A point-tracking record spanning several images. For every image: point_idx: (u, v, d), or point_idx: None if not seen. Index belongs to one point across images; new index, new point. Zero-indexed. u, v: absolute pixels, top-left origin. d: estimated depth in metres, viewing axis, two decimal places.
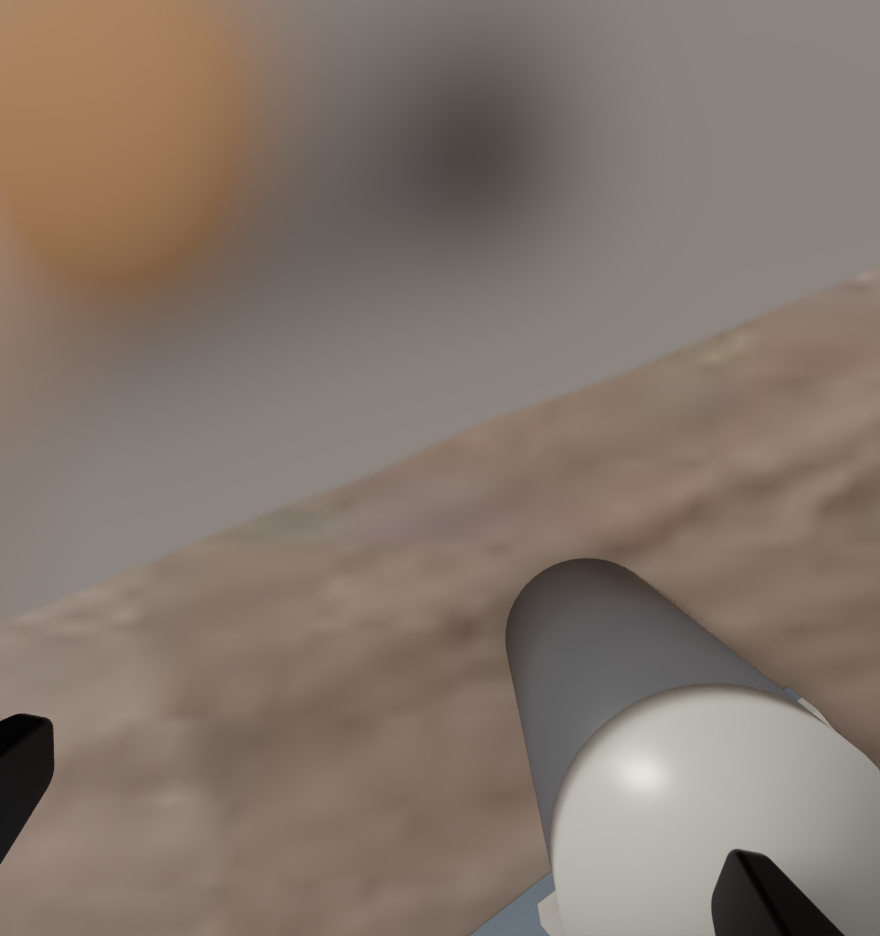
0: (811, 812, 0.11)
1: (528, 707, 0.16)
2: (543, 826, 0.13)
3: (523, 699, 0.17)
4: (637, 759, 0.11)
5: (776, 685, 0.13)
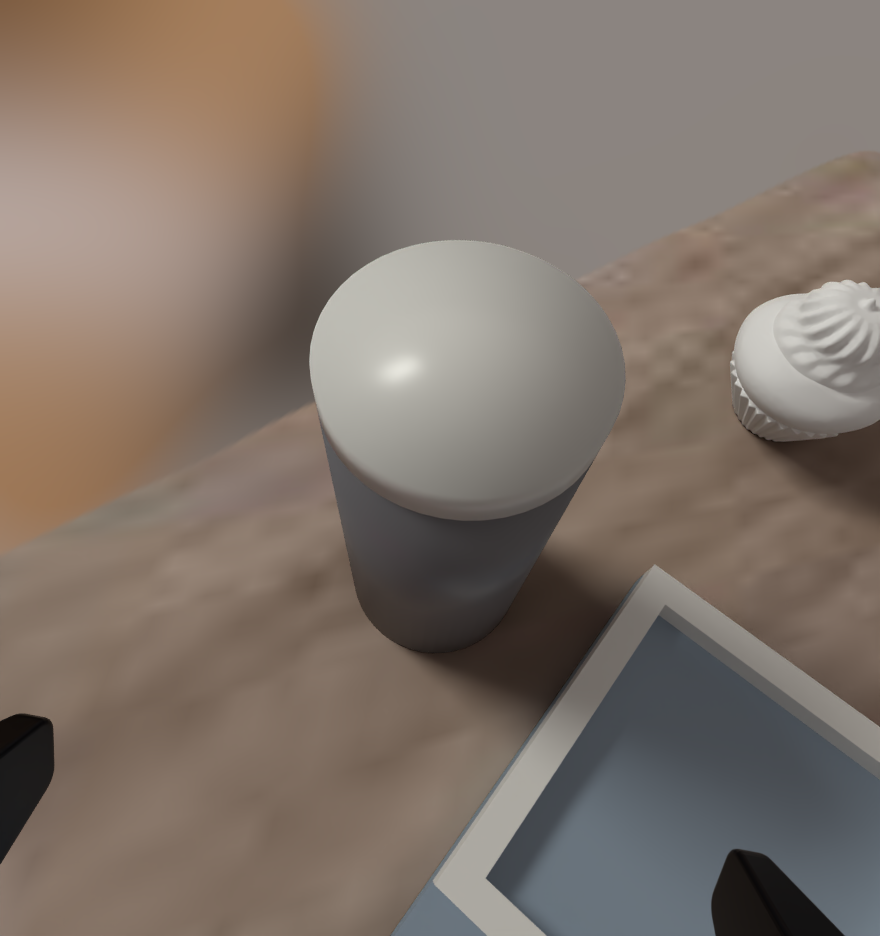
0: (513, 298, 0.13)
1: None
2: (323, 436, 0.13)
3: None
4: (366, 282, 0.13)
5: None
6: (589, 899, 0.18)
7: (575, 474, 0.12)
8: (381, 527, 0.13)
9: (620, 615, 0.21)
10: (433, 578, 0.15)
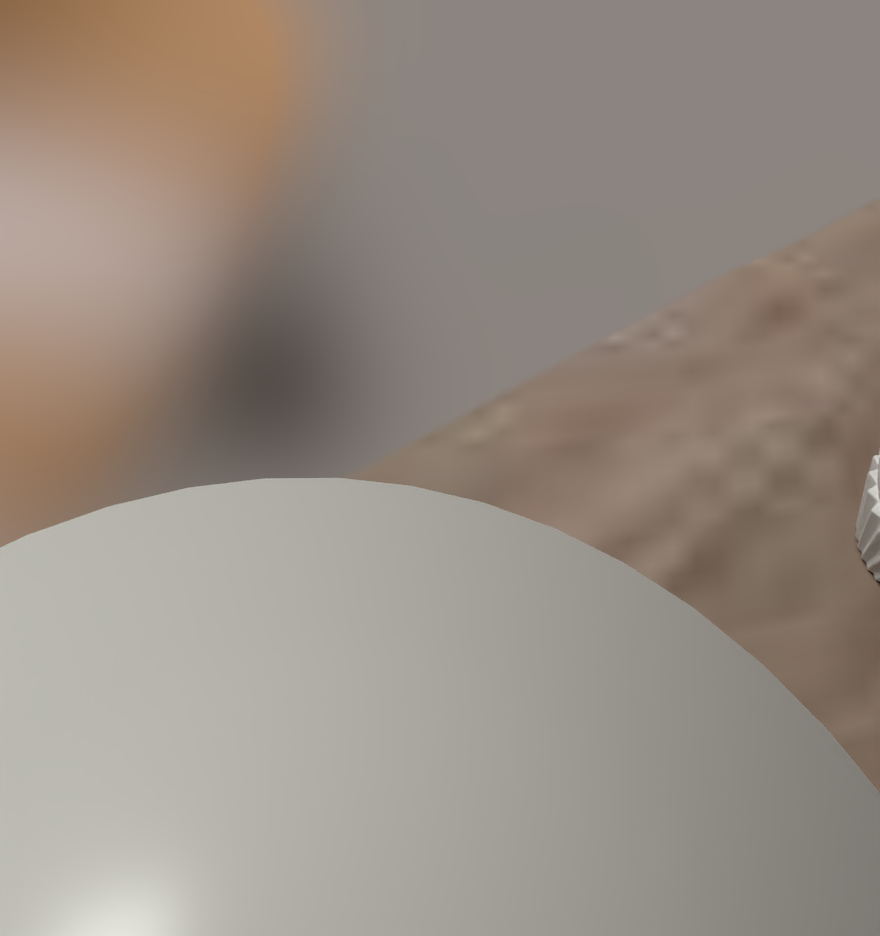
0: (510, 811, 0.03)
1: None
2: None
3: None
4: None
5: None
6: None
7: None
8: None
9: None
10: None
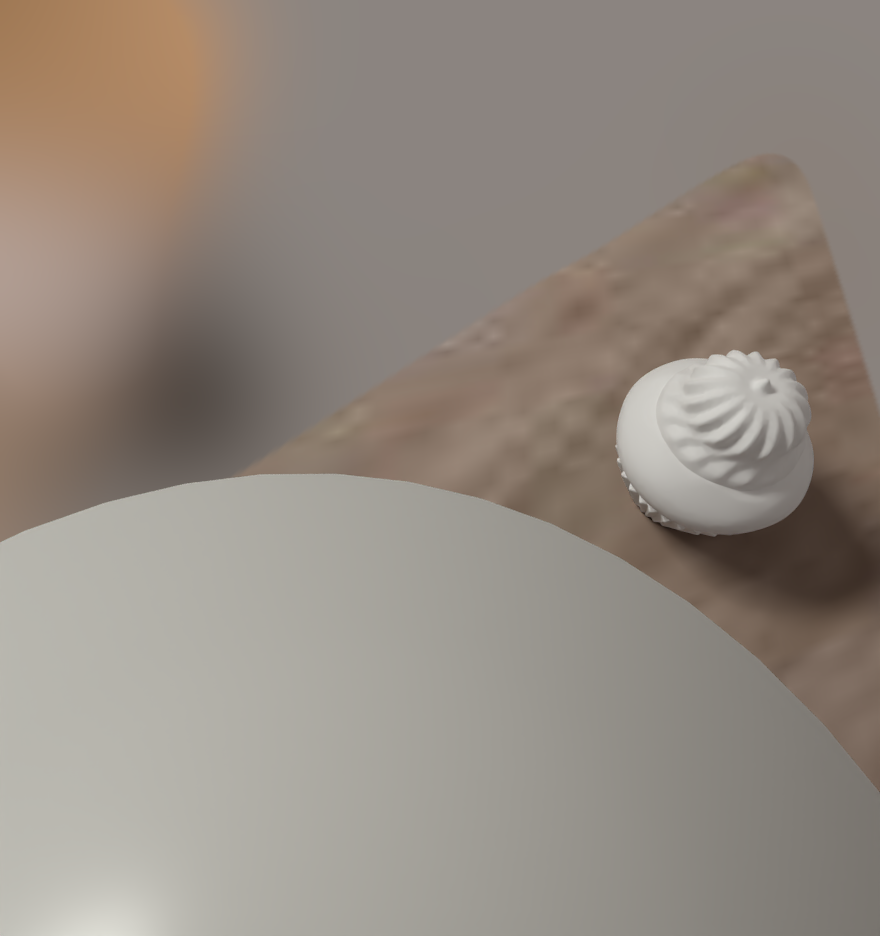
0: (507, 804, 0.03)
1: None
2: None
3: None
4: None
5: None
6: None
7: None
8: None
9: None
10: None
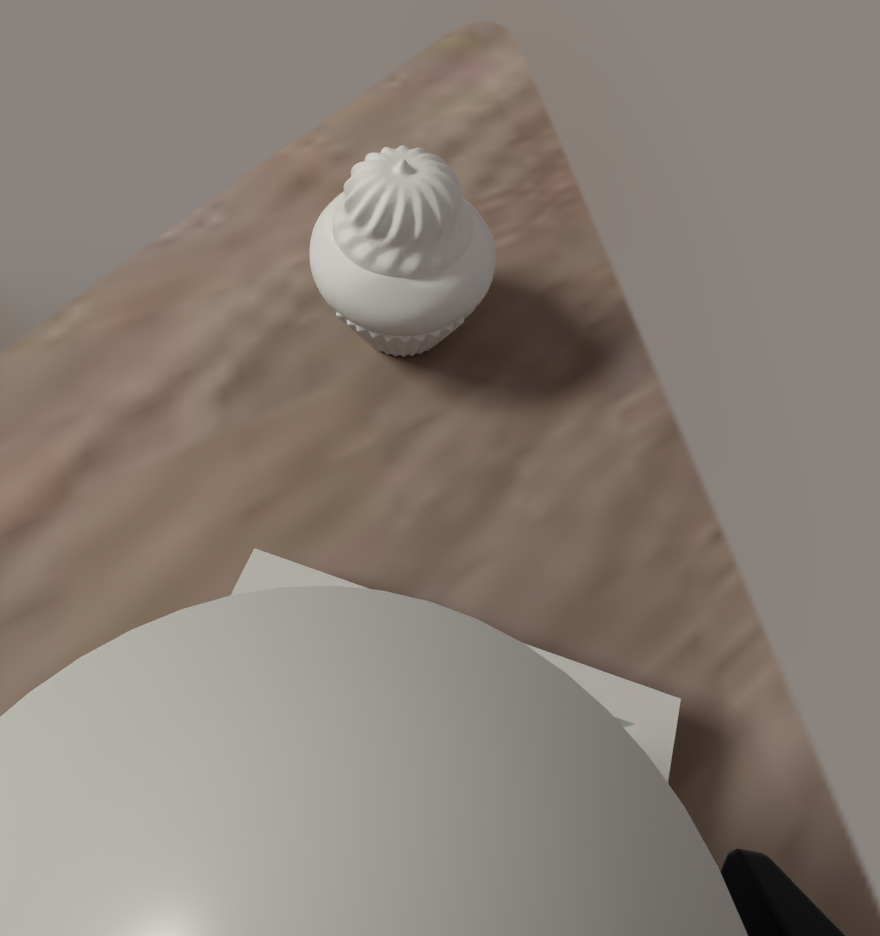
0: (440, 808, 0.04)
1: None
2: None
3: None
4: (15, 765, 0.04)
5: None
6: None
7: None
8: None
9: None
10: None
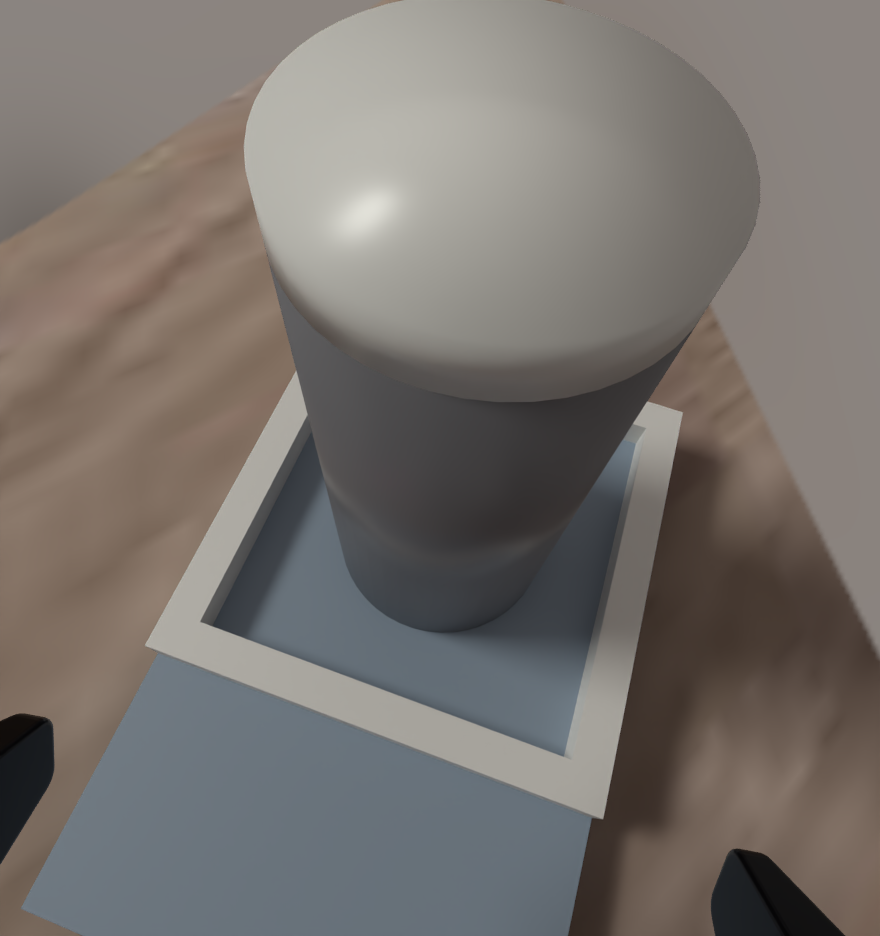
0: (571, 66, 0.08)
1: None
2: None
3: None
4: (340, 44, 0.08)
5: None
6: (326, 614, 0.18)
7: (686, 322, 0.07)
8: (367, 433, 0.09)
9: None
10: (445, 520, 0.10)
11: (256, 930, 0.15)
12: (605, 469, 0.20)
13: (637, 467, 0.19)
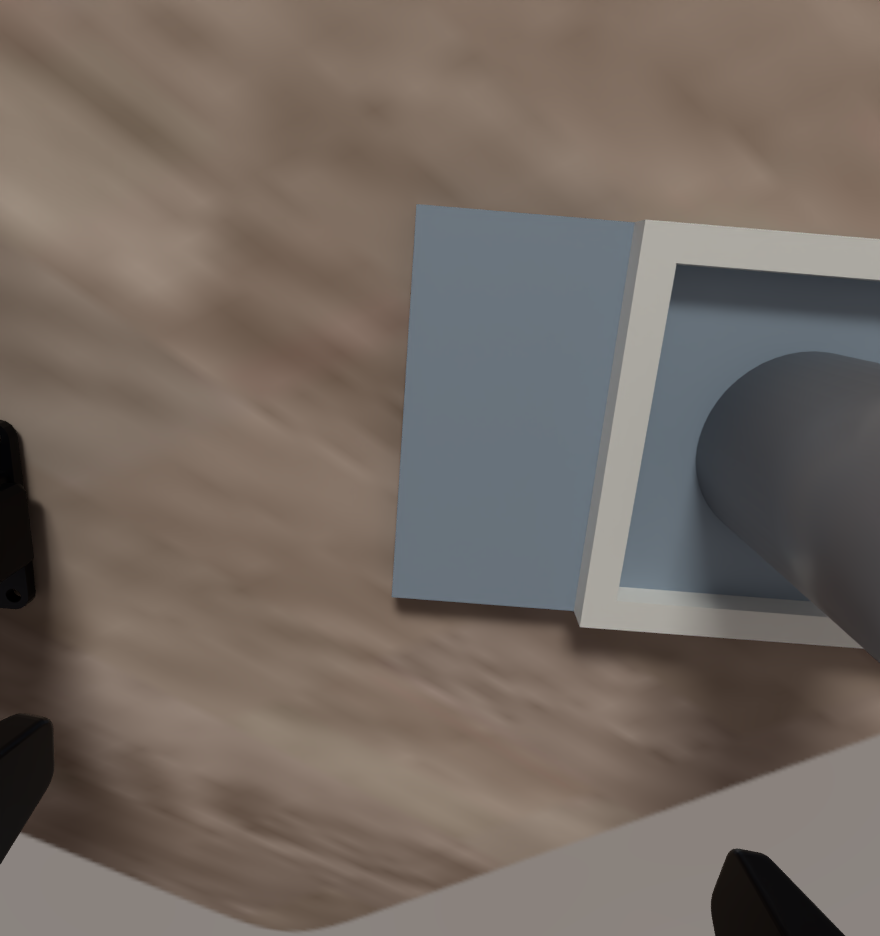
0: None
1: None
2: None
3: None
4: None
5: None
6: (697, 368, 0.19)
7: None
8: None
9: None
10: (874, 596, 0.11)
11: (448, 395, 0.19)
12: None
13: None
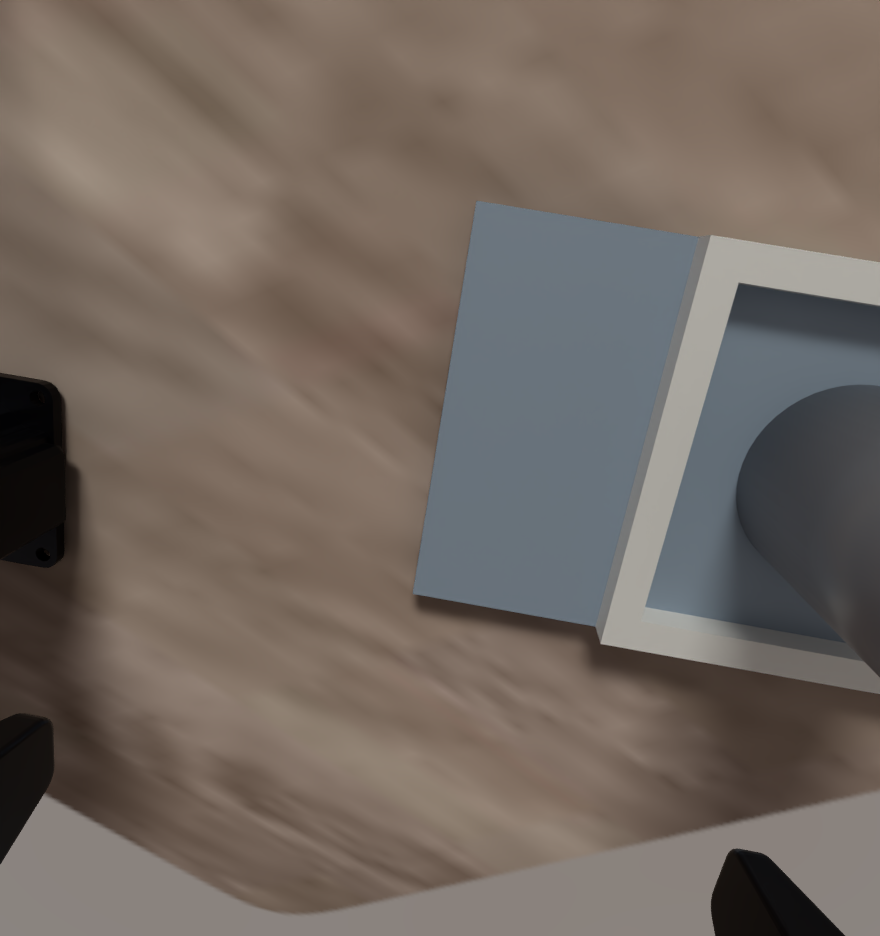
0: None
1: None
2: None
3: None
4: None
5: None
6: (748, 391, 0.18)
7: None
8: None
9: None
10: None
11: (489, 397, 0.19)
12: None
13: None
